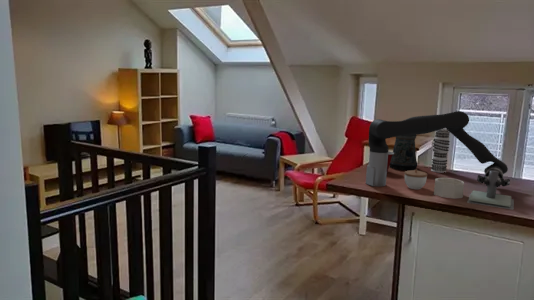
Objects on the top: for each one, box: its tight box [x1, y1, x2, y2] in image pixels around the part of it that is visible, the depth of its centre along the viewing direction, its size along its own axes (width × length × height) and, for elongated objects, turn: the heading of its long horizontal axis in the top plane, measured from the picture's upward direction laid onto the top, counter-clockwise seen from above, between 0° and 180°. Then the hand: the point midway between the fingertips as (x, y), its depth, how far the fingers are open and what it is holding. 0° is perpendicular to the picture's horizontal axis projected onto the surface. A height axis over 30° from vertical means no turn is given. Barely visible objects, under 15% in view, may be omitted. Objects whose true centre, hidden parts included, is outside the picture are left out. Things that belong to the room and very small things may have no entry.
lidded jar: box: [404, 168, 428, 190], centre depth 213 cm, size 11×11×9 cm
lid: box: [468, 171, 512, 207], centre depth 191 cm, size 16×16×13 cm
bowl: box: [433, 177, 465, 199], centre depth 201 cm, size 12×12×7 cm
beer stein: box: [389, 135, 419, 171], centre depth 258 cm, size 16×19×25 cm
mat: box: [466, 192, 515, 211], centre depth 192 cm, size 18×18×1 cm
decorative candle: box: [430, 128, 451, 174], centre depth 250 cm, size 9×9×25 cm
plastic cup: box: [387, 150, 394, 173], centre depth 247 cm, size 11×11×12 cm
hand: (492, 184), depth 188 cm, fingers closed on lid, 3 cm apart
